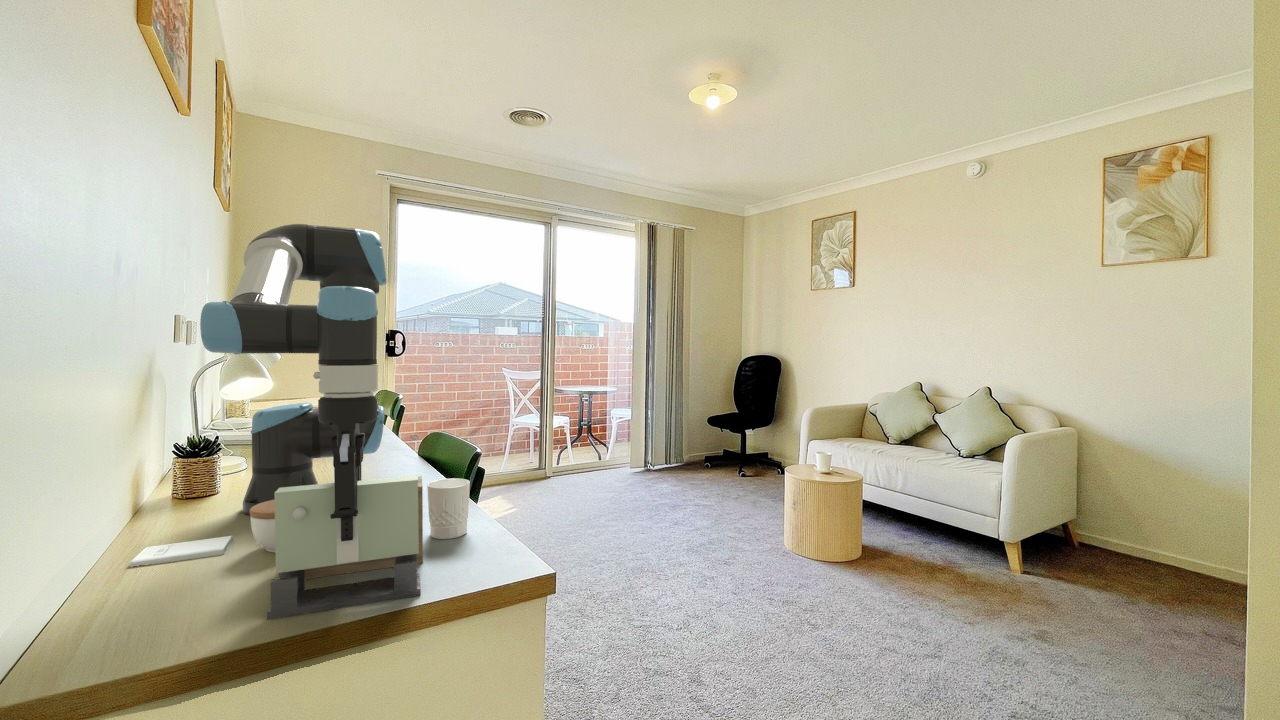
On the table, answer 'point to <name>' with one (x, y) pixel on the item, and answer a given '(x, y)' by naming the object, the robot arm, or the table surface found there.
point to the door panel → (313, 533)
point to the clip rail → (342, 591)
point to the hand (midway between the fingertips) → (349, 556)
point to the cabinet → (377, 562)
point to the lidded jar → (264, 524)
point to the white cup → (448, 507)
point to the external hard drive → (182, 551)
